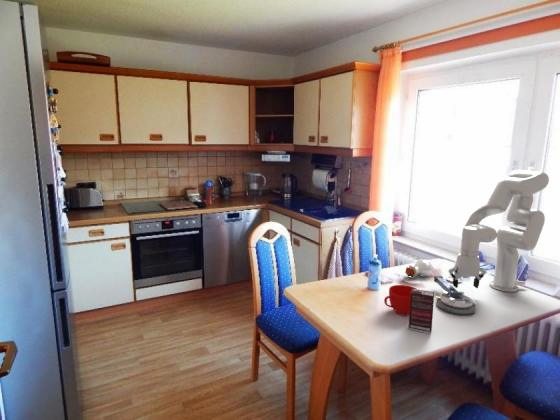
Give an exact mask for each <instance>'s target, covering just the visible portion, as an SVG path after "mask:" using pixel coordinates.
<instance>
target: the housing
mask: <svg viewBox="0 0 560 420" xmlns="http://www.w3.org/2000/svg"><path fill="white" fill-rule="evenodd" d="M434 298H436V307H437V308H438V309H439V310H441V311H442V312H445V313H447V314H449V315H454V316H462V317H463V316H464V317H465V316H466V317H467V316H471V315H474V314H475V313H476V312H477V311H476V310H477V306H476V304H475V303H474V302H473V303H472V307H471V308H470V309H455V308H451V307H448V306H446V305H444V304H442V303H441V301H440V299H441V296H437V295H434Z"/></svg>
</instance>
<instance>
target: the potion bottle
mask: <svg viewBox="0 0 560 420" xmlns="http://www.w3.org/2000/svg"><path fill="white" fill-rule="evenodd" d="M433 267H434V266H433V264H432V263H431V261H429V260H428V259H423V258H422V259H418V260H416V262H415V264H414V266H412V265H408V266H406V268H405V271H404V272H405V274H406V275H407V277H408V276H411V278H412V277H413V276H415V277H417V276H420V275H422V276H421V277H428V276H430V275H431V274H432V272H433V269H434V268H433ZM413 278H414V277H413Z"/></svg>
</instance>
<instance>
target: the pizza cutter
mask: <svg viewBox="0 0 560 420" xmlns="http://www.w3.org/2000/svg"><path fill="white" fill-rule="evenodd" d="M433 281H434V283H436V284H437V285H438V286H439V287H440V288H442V289H443V291H442V292H441V295H440V297H441V299H440V301H441V303H442V304H444V305H446V306H448V307H451V308H455V309H470V308H471V307H472V303H474V302H473V299H472V298H471V297H469V296H467V295H465V292H464V291H461V290H460V291H458V290H457V288H455V287H454V286H453V285H452V284H451V283H449V282H448V281H447V280H446V279H445V278H444V277H443V276H442V275H434V277H433Z"/></svg>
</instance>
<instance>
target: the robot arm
mask: <svg viewBox="0 0 560 420" xmlns="http://www.w3.org/2000/svg"><path fill="white" fill-rule="evenodd" d="M549 181H550V177H549V175H548V174H547V173H545V172H544V171H536V170H535V171H533V170H524V169H523V170H522V169H518V170H512V171H511V172H510V173H509V176H507V177H502V178H500V179H499V180H498V182H497V184H496V186H495V188H494V190H493V192H492V194H491V195H490V197H489V199H488V201H487V203H485V204H484V205H482V206H480V207H479V208H478V209H476V210H475V211H474V212H472V213H471V215H470V216H469V218H468V220H467V221H466V224H465V225H464V227H463V228H462V233H461V244H460V253H458V254H457V256H456V261H455V265H454V266H453V267H451V268H450V269H448V271H447V272H448V273H449V275H450V276H451V277H452V287H453V288H455V289H458V286H459V280H458V279H459V278H460V277H465V278H466V277H468V278H469V277H470V278H471V277H472V278H473V277H474V278H473V284H472V286H473V287H474V288H475V289H478V288H479V286H480V281H481V279H482V278H484V277H485V275H486V273H487V270H485V269H483V268H481V262H480V256H479V254H482V251H481V250H480V243H488V244H489V243H493V242H494V241H495V240H496V246H497V247H496V257H495V258H496V259H495V265H494V266H495V267H494V275H493V280H491V281H489V286H490V287H491V288H493V289H494V290H497V291H501V292H502V291H503V292H507V293H510V292H511V293H514V292H518V290H519V285H520V286H524V285H526V282H525V281H524V280H523V281H522V280H519V279H517V272H518V266H519V265H518V263H519V260H520V257H519V255H520V253H519V251H518V250H522V251H525V252H526V251H527V252H530V251H533V250H534V249H535V248H536V247H537V244H538V241H539V239H540V236H541V234H542V231H543V227H544V226H545V221H546V220H545V219H546V217H545V214H544V213H543V211H541V210H539V209H535V208H532V206H533V203H534V194H536V193H539V192H541V191H543V190H545V189H546V187H547V186H548V185H549ZM509 206H510V207H509ZM508 207H509V209H508ZM507 209H508V212H507V215H506V221H507V222H508V223H509V224H510V225H514V226H517V227H513V226H502V227H500V228H499V229H498V230H496V229H495V228H493V227H491V226H489V225H488V226H487V225H484V224H480V223H481V222H482V221H483V220H484V219H486V218H487V217H490V216H494V215H495V216H496V215H497V214H502V213H504V212H505V213H506V211H507ZM518 227H522V228H525V229H522V228H521V229H520V228H518Z"/></svg>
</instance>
